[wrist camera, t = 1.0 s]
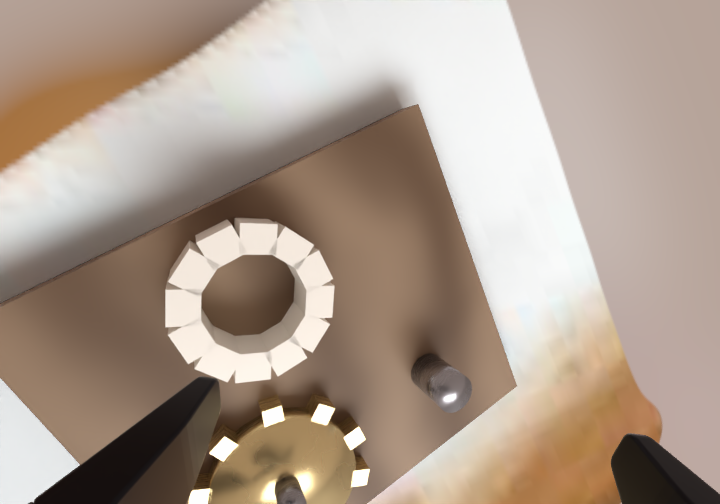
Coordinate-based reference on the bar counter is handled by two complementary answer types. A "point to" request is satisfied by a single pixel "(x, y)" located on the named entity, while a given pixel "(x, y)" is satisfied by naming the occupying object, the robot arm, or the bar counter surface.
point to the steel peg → (441, 382)
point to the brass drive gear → (284, 458)
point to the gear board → (280, 309)
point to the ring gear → (259, 351)
